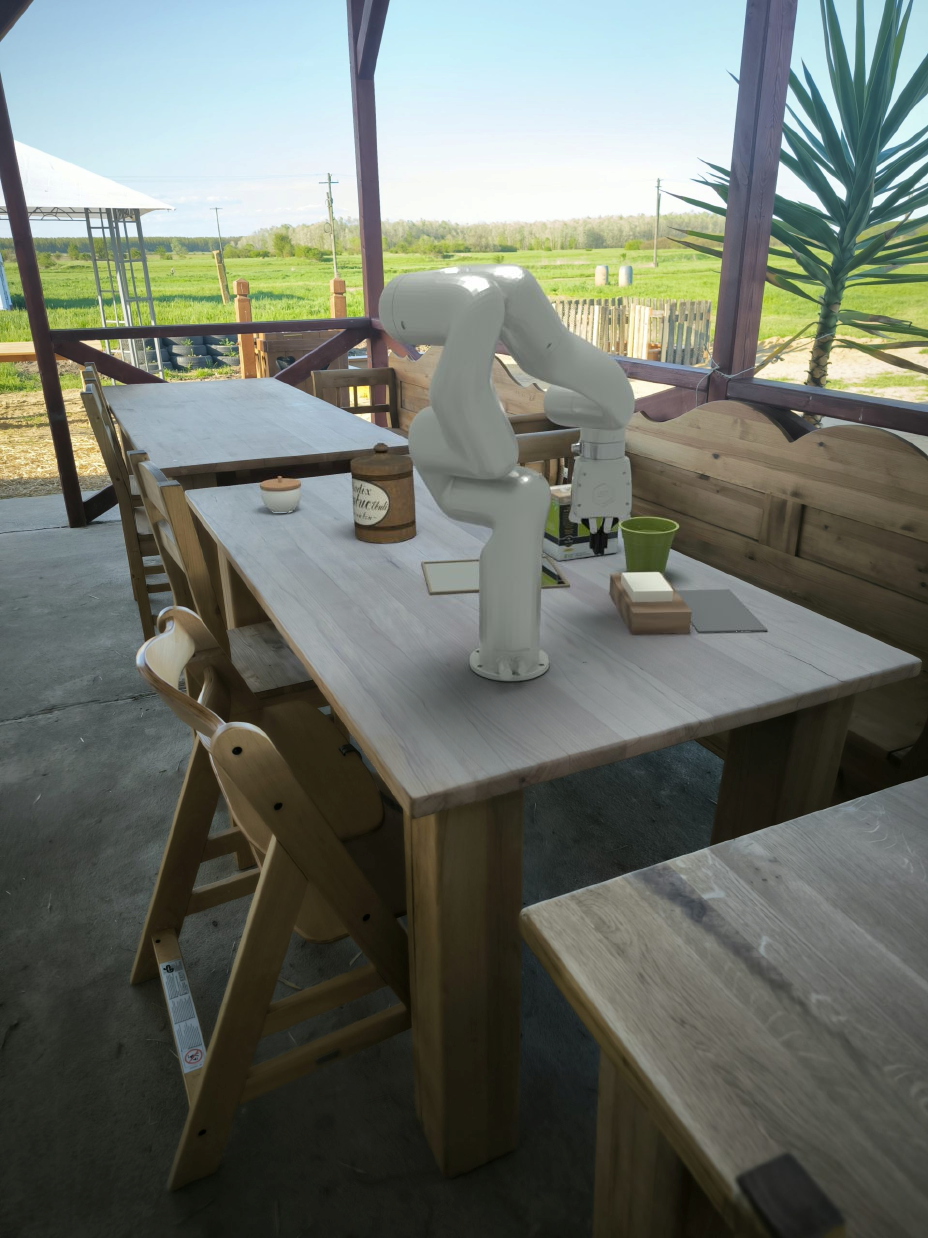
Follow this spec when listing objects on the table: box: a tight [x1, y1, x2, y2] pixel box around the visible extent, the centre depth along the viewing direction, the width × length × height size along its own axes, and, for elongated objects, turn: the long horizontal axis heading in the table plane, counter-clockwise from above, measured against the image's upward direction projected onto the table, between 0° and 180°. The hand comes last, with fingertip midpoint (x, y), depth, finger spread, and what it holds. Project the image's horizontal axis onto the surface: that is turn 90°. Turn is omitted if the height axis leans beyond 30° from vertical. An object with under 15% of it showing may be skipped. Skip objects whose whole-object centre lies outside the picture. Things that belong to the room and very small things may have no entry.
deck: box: [608, 573, 692, 635], centre depth 148 cm, size 20×10×4 cm, turn 2°
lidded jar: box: [259, 475, 302, 512], centre depth 217 cm, size 11×11×9 cm
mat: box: [675, 588, 768, 634], centre depth 149 cm, size 20×12×1 cm, turn 2°
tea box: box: [543, 483, 619, 562], centre depth 180 cm, size 15×10×15 cm
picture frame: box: [420, 554, 571, 596], centre depth 169 cm, size 19×1×28 cm
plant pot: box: [618, 516, 680, 576], centre depth 165 cm, size 12×12×11 cm
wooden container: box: [350, 442, 417, 544], centre depth 193 cm, size 15×15×22 cm
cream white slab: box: [621, 572, 673, 602], centre depth 147 cm, size 10×7×2 cm
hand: (598, 552), depth 145 cm, fingers closed
